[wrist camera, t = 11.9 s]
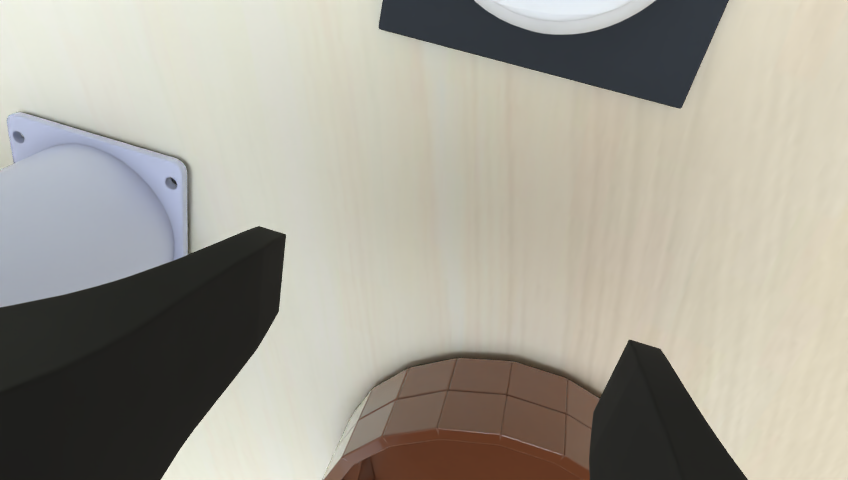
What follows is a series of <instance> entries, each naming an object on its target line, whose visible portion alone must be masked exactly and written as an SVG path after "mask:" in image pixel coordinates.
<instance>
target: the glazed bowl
mask: <svg viewBox="0 0 848 480" xmlns="http://www.w3.org/2000/svg"><path fill="white" fill-rule="evenodd" d="M599 400H600V398H598V397H597V396H595V395H593V394H592V393H590V392H589V391H587V390H585V389H584V388H582V387H581V386H579V385H577V384H576V383H574V382H572V381H571V380H569V379H568V380H567V378H565V377H562V376H559V375H556V374H552V373H549V372H546V371H543V370H540V369H537V368H533V367H530V366H527V365H524V364H521V363H518V362H514V361H513V362H512V361H502V360H486V359H471V358H458V359H457V358H453V359H449V360H444V361H439V362H434V363H429V364H424V365H419V366H414V367H410V368H407V369H405V370H404V371H402V372H400V373H398V374H397V375H395V376H393V377H391V378H390V379H388V380H386V381H385V382H383V383H381V384H379V385H378V386H376V387H374V388H373V389H371V391H370V392H369V393H368V395H367V396H366V397H365V399H364V400H363V401H362V403H361V404H360V405H359V407H358V408H357V409H356V411H355V412H354V413H353V415H352V416H351V418H350V420H349V422H348V424H347V427H346V429H345V431H344V433H343V435H342V437H341V440H340V442H339V444H338V446H337V448H336V450H335V452H334V455H333V457H332V459H331V461H330V463H329V465H328V468H327V470H326V472H325V474H324V476H323V478H322V480H590V473H589V453H590V440H591V430H592V420H593V412H594V410H595V408H596V406H597V404H598V402H599Z"/></svg>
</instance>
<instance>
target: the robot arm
mask: <svg viewBox="0 0 848 480" xmlns="http://www.w3.org/2000/svg"><path fill="white" fill-rule="evenodd" d="M7 126H8V132H9V137H10V143H11V149H12V155H13V161H14V164H12V165H10V166H7V167H5V168H3V169H1V170H0V480H161V478H162V477H163V475H164V473H165V472H166V470H167V469H168V467H169V466H170V464H171V462H172V461H173V459H174V458H175V456H176V455H177V453H178V451H179V450H180V448H181V447H182V445H183V444H184V443H185V441H186V440H187V438H188V437H189V436H190V434H191V433H192V432H193V430H194V429H195V428H196V426H197V425H198V424H199V422H200V421H201V420H202V419H203V417H204V416H205V415H206V414H207V412H208V411H209V410H210V409H211V407H212V406H213V405H214V403H215V402H216V401H217V400H218V398H219V397H220V396H221V395H222V393H223V392H224V391H225V390H226V388H227V387H228V386H229V384H230V383H231V382H232V381H233V379H234V378H235V377H236V376H237V374H238V373H239V372H240V370H241V369H242V368H243V367H244V365H245V364H246V363H247V361H248V360H249V359H250V357H251V356H252V355H253V354H254V352H255V351H256V350H257V348H258V346H259V345H260V343H261V341H262V340H263V338H264V336H265V335H266V333H267V331H268V330H269V328H270V326H271V324H272V322H273V321H274V319H275V317H276V315H277V314H278V312H279V303H280V292H281V282H282V271H283V260H284V249H285V239H286V234H283V233H279V232H276V231H273V230H269V229H266V228H263V227H260V226H258V227H255V228H252V229H250V230H247V231H244V232H242V233H239V234H237V235H235V236H232V237H230V238H227V239H225V240H223V241H220V242H218V243H216V244H213V245H211V246H208V247H206V248H203V249H201V250H199V251H196V252H194V253H191V254H189V255H188V215H187V169H186V167H185V165H184V164H183V163H182V162H181V161H180V160H178V159H176V158H173V157H170V156H167V155H163V154H160V153H157V152H153V151H150V150H147V149H143V148H140V147H137V146H133V145H130V144H126V143H123V142H120V141H116V140H113V139H110V138H106V137H103V136H100V135H96V134H93V133H90V132H86V131H83V130H79V129H76V128H73V127H69V126H66V125H63V124H59V123H56V122H53V121H49V120H46V119H43V118H39V117H36V116H32V115H29V114H26V113H22V112H16V113H13V114H11V115H9V116H8V118H7ZM21 134H22V135H23V137H24V138H23V137H22V135H21ZM171 178H173V179H174V180H175V181H176V183H177V185H175V184H174V183H173V182H172V180H171ZM589 473H590V480H748V479H747V478H746V477H745V475H744V474H743V472H742V471H741V470H740V468H739V467H738V466H737V464H736V463H735V462H734V460H733V459H732V458H731V456H730V455H729V454H728V452H727V451H726V449H725V448H724V446H723V445H722V444H721V442H720V441H719V439H718V438H717V436H716V435H715V433H714V432H713V431H712V429H711V428H710V426H709V425H708V423H707V422H706V420H705V418H704V417H703V415H702V414H701V412H700V411H699V409H698V408H697V406H696V405H695V403H694V401H693V400H692V398H691V397H690V395H689V393H688V392H687V390H686V389H685V387H684V385H683V384H682V382H681V381H680V379H679V377H678V376H677V374H676V373H675V371H674V369H673V368H672V366H671V364H670V363H669V361H668V360H667V358H666V357H665V355H664V354H663V352H662V351H661V349H659V348H656V347H652V346H649V345H646V344H642V343H639V342H636V341H633V340H629V341H628V343H627V345H626V347H625V349H624V351H623V353H622V355H621V357H620V359H619V361H618V363H617V365H616V367H615V369H614V371H613V373H612V375H611V377H610V379H609V381H608V383H607V385H606V387H605V389H604V391H603V393H602V395H601V397H600V400H599V402H598V404H597V406H596V408H595V410H594V412H593V420H592V430H591V440H590V453H589Z"/></svg>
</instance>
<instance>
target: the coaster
mask: <svg viewBox="0 0 848 480" xmlns="http://www.w3.org/2000/svg"><path fill="white" fill-rule="evenodd" d="M728 1H729V0H655V1H654V2H653V3H652V4H650V5H649V6H647V7H646V8H644V9H643V10H641V11H640V12H638V13H637V14H635V15H633V16H631V17H629V18H627V19H625V20H623V21H621V22H619V23H616V24H614V25H611V26H609V27H606V28H602V29H599V30H596V31H591V32H587V33H579V34H565V35H554V34H544V33H538V32H533V31H530V30H527V29H523V28H520V27H518V26H515V25H512V24H510V23H508V22H506V21H504V20H501V19H499V18H498V17H496V16H494V15H493V14H491V13H489V12H488V11H486V10H485V9H484V8H483V7H481V6H480V5H479V4H478V3H476V2H475V1H474V0H383V2H382V9H381V15H380V22H379V29H381V30H385V31H389V32H392V33H396V34H400V35H404V36H408V37H411V38H415V39H419V40H423V41H426V42H430V43H434V44H438V45H442V46H445V47H449V48H453V49H457V50H460V51H464V52H468V53H472V54H476V55H479V56H483V57H487V58H491V59H495V60H498V61H502V62H506V63H510V64H513V65H517V66H521V67H525V68H529V69H532V70H536V71H540V72H544V73H547V74H551V75H555V76H559V77H563V78H566V79H570V80H574V81H578V82H581V83H585V84H589V85H593V86H597V87H600V88H604V89H608V90H612V91H615V92H619V93H623V94H627V95H631V96H634V97H638V98H642V99H646V100H649V101H653V102H657V103H661V104H665V105H668V106H672V107H676V108H682V105H683V103H684V101H685V99H686V96H687V94H688V92H689V90H690V87H691V85H692V83H693V80H694V78H695V76H696V74H697V71H698V69H699V67H700V64H701V62H702V60H703V58H704V55H705V53H706V51H707V49H708V46H709V44H710V42H711V39H712V37H713V35H714V33H715V30H716V28H717V26H718V23H719V21H720V19H721V17H722V14H723V12H724V10H725V8H726V5H727V3H728Z"/></svg>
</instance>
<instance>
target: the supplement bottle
mask: <svg viewBox="0 0 848 480" xmlns="http://www.w3.org/2000/svg"><path fill="white" fill-rule="evenodd" d="M474 1H475V2H476V3H478V4H479V5H480V6H481V7H483V8H484V9H485V10H486V11H488V12H489V13H491V14H493V15H494V16H496V17H498V18H499V19H501V20H504V21H506V22H508V23H510V24H512V25H515V26H518V27H520V28H523V29H527V30H530V31H533V32H538V33H544V34H554V35H565V34H579V33H587V32H591V31H596V30H599V29H602V28H606V27H609V26H611V25H614V24H616V23H619V22H621V21H623V20H625V19H627V18H629V17H631V16H633V15H635V14H637V13H638V12H640V11H641V10H643V9H644V8H646V7H647V6H649V5H650V4H652V3H653V2H654V1H655V0H474Z"/></svg>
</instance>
